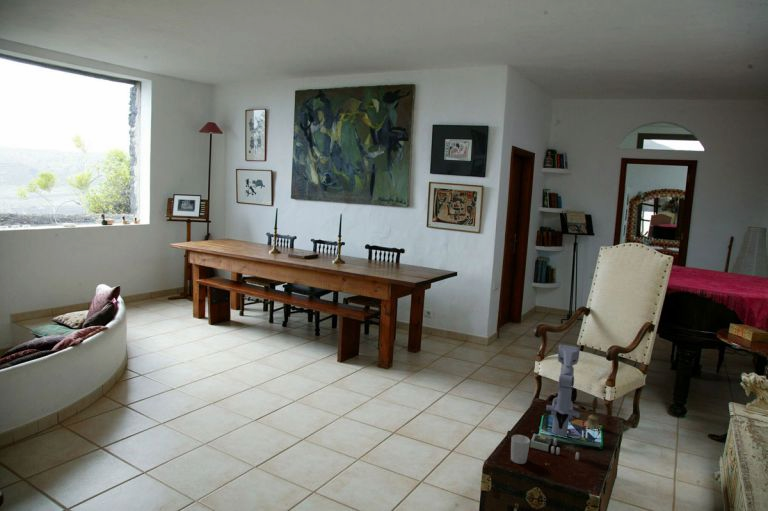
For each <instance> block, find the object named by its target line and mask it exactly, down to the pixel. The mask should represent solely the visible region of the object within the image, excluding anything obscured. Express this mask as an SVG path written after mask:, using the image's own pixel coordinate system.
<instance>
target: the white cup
mask: <svg viewBox="0 0 768 511" xmlns="http://www.w3.org/2000/svg"><path fill="white" fill-rule="evenodd" d="M510 441H511V442H510V460H511V461H512V462H513V463H515V464H518V465H524V464H526V463H527V460H528V454H529V448H530V443H531V439H530V438H529V437H528V436H526V435H522V434H514V435H512V436H511V440H510Z"/></svg>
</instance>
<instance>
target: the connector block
mask: <svg viewBox="0 0 768 511" xmlns="http://www.w3.org/2000/svg"><path fill="white" fill-rule="evenodd" d="M538 435H539V437H538V441H537V442H540V443H544V444H547V441H548V437H549V436H546V437H544V436H545V435H542V436H540V435H541V434H538Z"/></svg>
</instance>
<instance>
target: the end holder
mask: <svg viewBox="0 0 768 511" xmlns="http://www.w3.org/2000/svg"><path fill="white" fill-rule="evenodd" d="M539 435H540V436H544V437H548V441H547V444H544V443H540V442H538V437H539ZM551 442H552V437H549V436H545V435H541V434H538V433H537V434H536V433H533V435H532V438H531V439H530V444H529V448H532V449H537V450H539V451H544V452H549V446H550V445H551Z"/></svg>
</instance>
